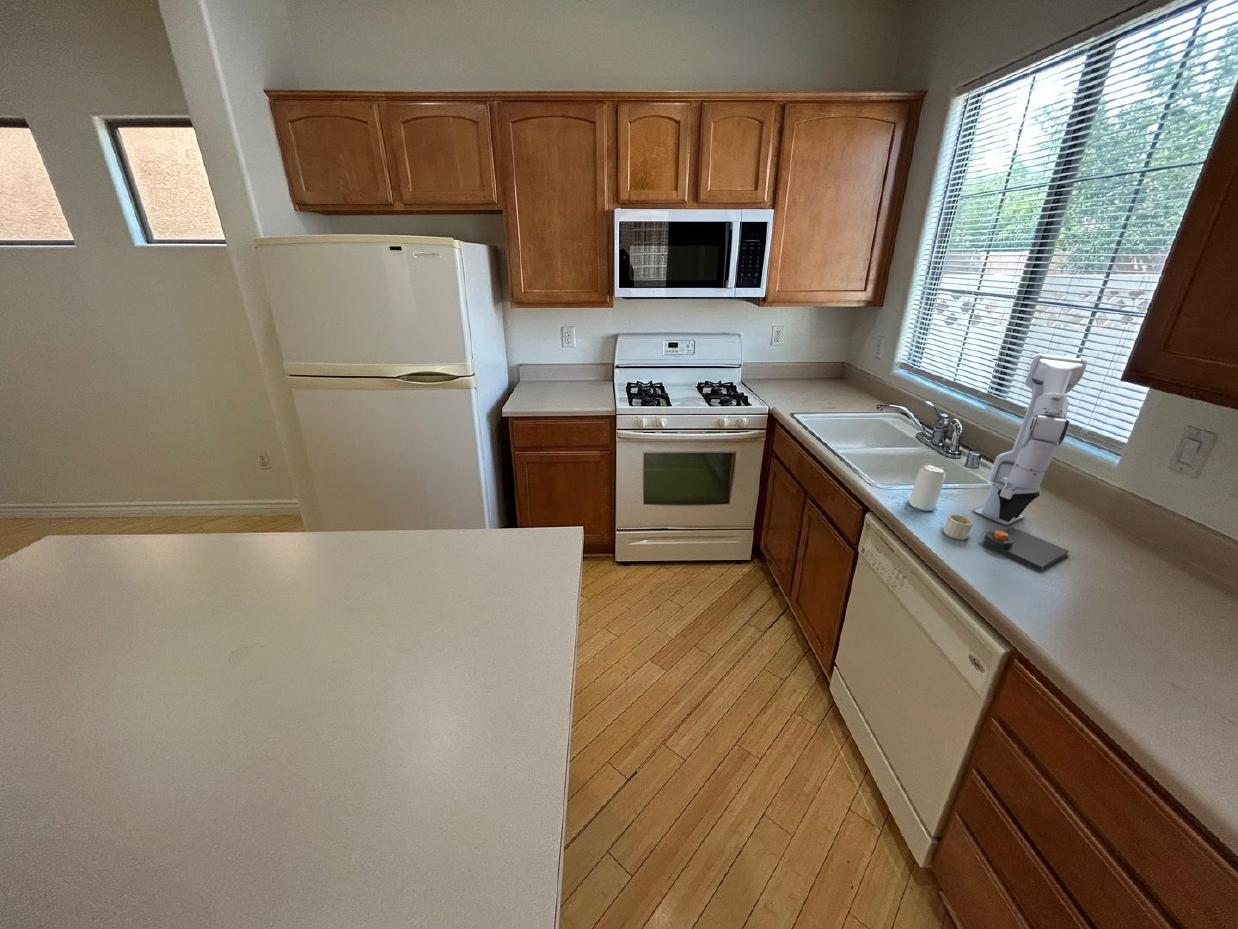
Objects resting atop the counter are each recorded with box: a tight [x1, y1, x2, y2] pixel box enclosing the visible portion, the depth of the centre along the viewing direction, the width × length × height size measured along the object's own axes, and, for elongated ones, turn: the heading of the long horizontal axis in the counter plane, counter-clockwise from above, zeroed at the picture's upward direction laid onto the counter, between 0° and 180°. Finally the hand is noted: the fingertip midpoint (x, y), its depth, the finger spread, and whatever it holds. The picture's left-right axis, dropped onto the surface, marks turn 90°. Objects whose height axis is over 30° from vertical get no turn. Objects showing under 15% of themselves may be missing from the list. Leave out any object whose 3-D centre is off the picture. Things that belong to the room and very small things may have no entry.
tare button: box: [993, 529, 1008, 541], centre depth 116 cm, size 3×3×2 cm
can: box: [908, 463, 947, 512], centre depth 133 cm, size 6×6×12 cm
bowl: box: [943, 513, 974, 541], centre depth 121 cm, size 5×5×4 cm
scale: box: [982, 526, 1069, 572], centre depth 116 cm, size 15×13×3 cm
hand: (1008, 518), depth 114 cm, fingers open, 3 cm apart
